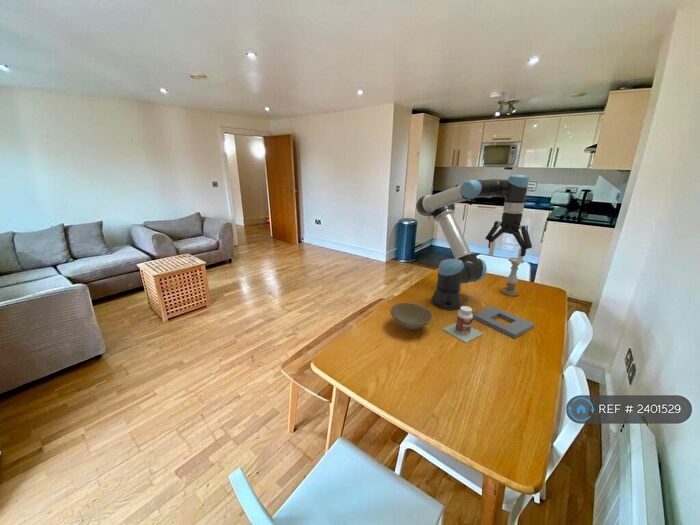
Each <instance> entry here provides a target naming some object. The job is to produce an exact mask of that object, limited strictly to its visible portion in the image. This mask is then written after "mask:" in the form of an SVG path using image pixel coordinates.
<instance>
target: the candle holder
mask: <svg viewBox="0 0 700 525" xmlns="http://www.w3.org/2000/svg"><path fill="white" fill-rule="evenodd" d="M517 258H518V257H509V258H508V260H507V261H509V262H510V264H511V266H510V270H511V271H510V272H509V273H510V274H509V275H508V276H507V278H506V284H505V285H506V287H504V288H501V290H500V293H502V294H503V295H506V296H509V297H517V296H519V292H518V290H517V289H516V286H517V285H516V284H517V283H518V282H519V281H518V276H517V272H518V271H519V266H520V264H524V263H525V260H524V259H522V263H519V264H517Z"/></svg>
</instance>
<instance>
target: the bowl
mask: <svg viewBox="0 0 700 525" xmlns="http://www.w3.org/2000/svg"><path fill="white" fill-rule="evenodd" d="M389 311H390V314H391V317H392V319H393V320H394V321H395V322H397V324H399V325H400V326H401V327H403V328H404V329H407V330H410V331H415V330H419V329H421V328H422V327H424V326H427V325H428V324H430V322H431V321H432V319H433V313H432V311H431V310H430V309H428V308H426V307H425V306H423V305H420V304H416V303H408V302H401V303H397V304H394V305H392V307H391V308H390V310H389Z"/></svg>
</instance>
